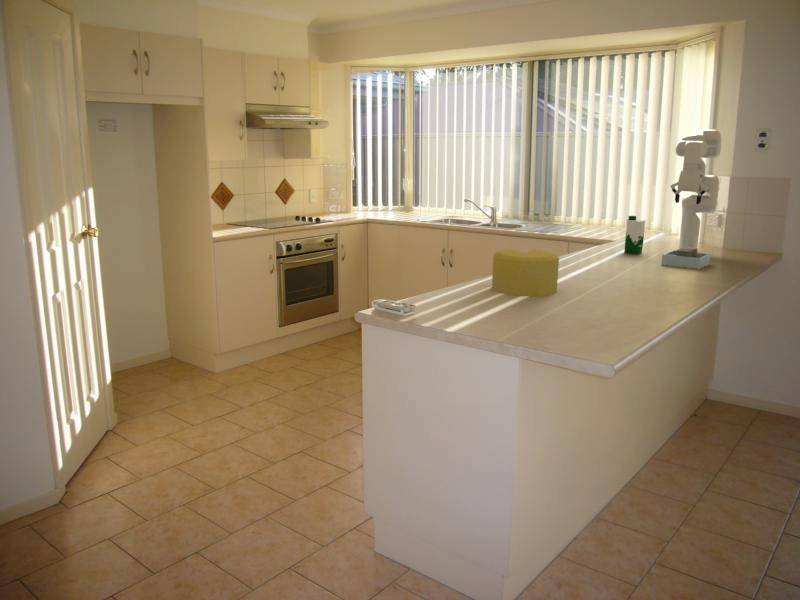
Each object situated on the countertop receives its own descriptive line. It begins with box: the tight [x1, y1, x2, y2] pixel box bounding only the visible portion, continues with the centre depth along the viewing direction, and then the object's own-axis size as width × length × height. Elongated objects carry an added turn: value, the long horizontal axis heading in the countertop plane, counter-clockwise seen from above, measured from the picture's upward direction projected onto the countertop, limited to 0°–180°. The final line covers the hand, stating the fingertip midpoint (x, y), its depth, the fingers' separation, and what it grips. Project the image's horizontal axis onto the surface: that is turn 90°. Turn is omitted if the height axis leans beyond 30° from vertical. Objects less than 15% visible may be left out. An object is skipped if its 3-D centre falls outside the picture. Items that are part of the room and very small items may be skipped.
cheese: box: [491, 248, 560, 297], centre depth 277 cm, size 26×26×15 cm
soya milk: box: [623, 215, 646, 255], centre depth 374 cm, size 9×9×20 cm
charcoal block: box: [676, 248, 693, 257], centre depth 338 cm, size 6×6×7 cm
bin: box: [661, 249, 711, 270], centre depth 341 cm, size 18×18×5 cm
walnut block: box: [681, 247, 699, 258], centre depth 344 cm, size 6×6×7 cm
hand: (687, 203), depth 335 cm, fingers open, 9 cm apart
